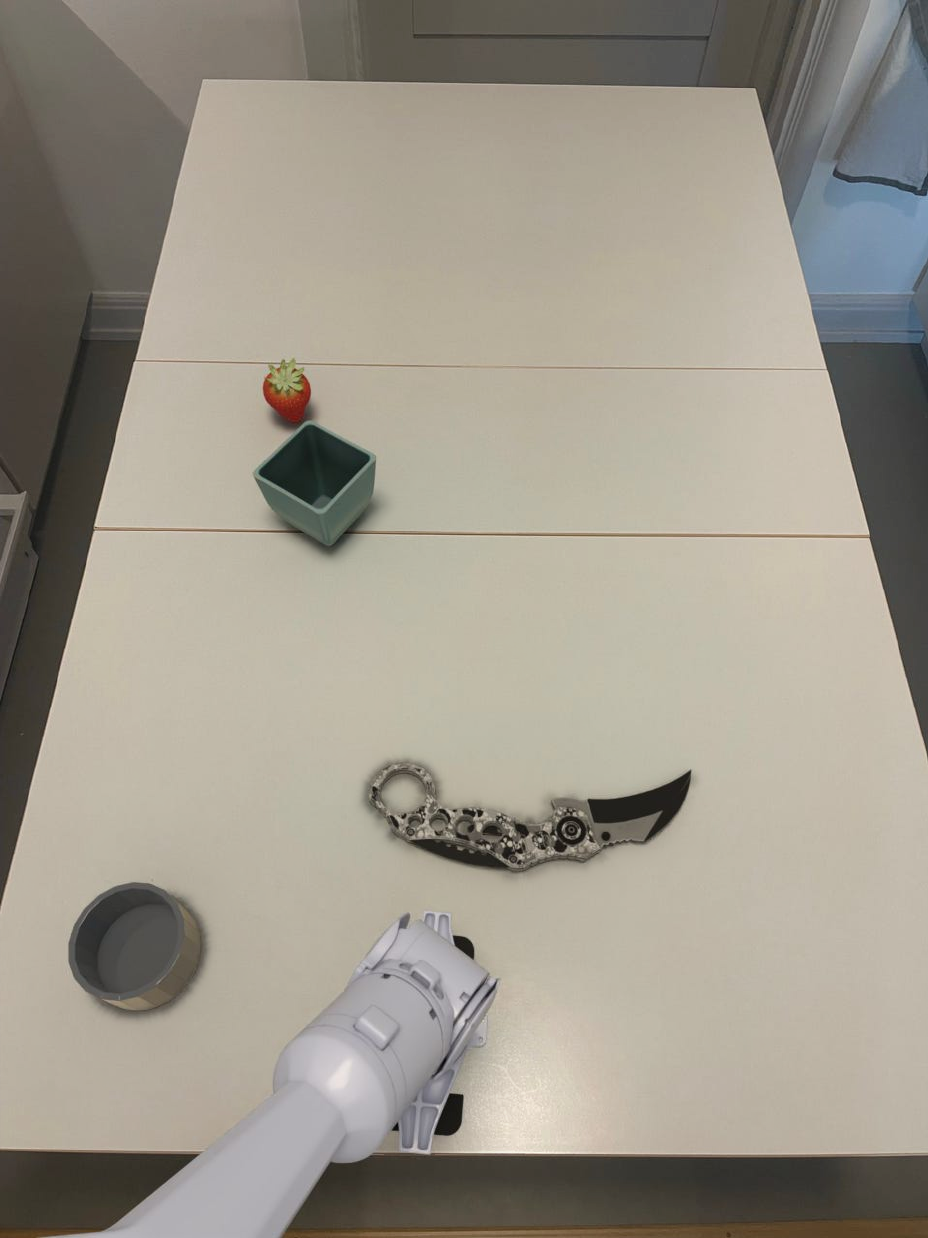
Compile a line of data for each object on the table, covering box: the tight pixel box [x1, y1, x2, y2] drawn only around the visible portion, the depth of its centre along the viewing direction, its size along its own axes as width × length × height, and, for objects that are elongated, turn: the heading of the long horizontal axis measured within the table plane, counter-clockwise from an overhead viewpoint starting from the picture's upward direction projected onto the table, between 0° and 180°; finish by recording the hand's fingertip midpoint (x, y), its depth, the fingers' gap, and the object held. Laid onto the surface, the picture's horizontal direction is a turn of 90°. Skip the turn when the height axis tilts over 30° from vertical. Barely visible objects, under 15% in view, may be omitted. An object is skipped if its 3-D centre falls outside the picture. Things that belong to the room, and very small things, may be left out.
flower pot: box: [252, 420, 377, 547], centre depth 89 cm, size 9×9×9 cm
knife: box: [368, 762, 692, 872], centre depth 76 cm, size 28×2×10 cm
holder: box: [67, 881, 202, 1012], centre depth 68 cm, size 8×8×6 cm
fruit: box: [262, 357, 312, 423], centre depth 97 cm, size 5×5×8 cm
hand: (428, 1039), depth 66 cm, fingers open, 7 cm apart
